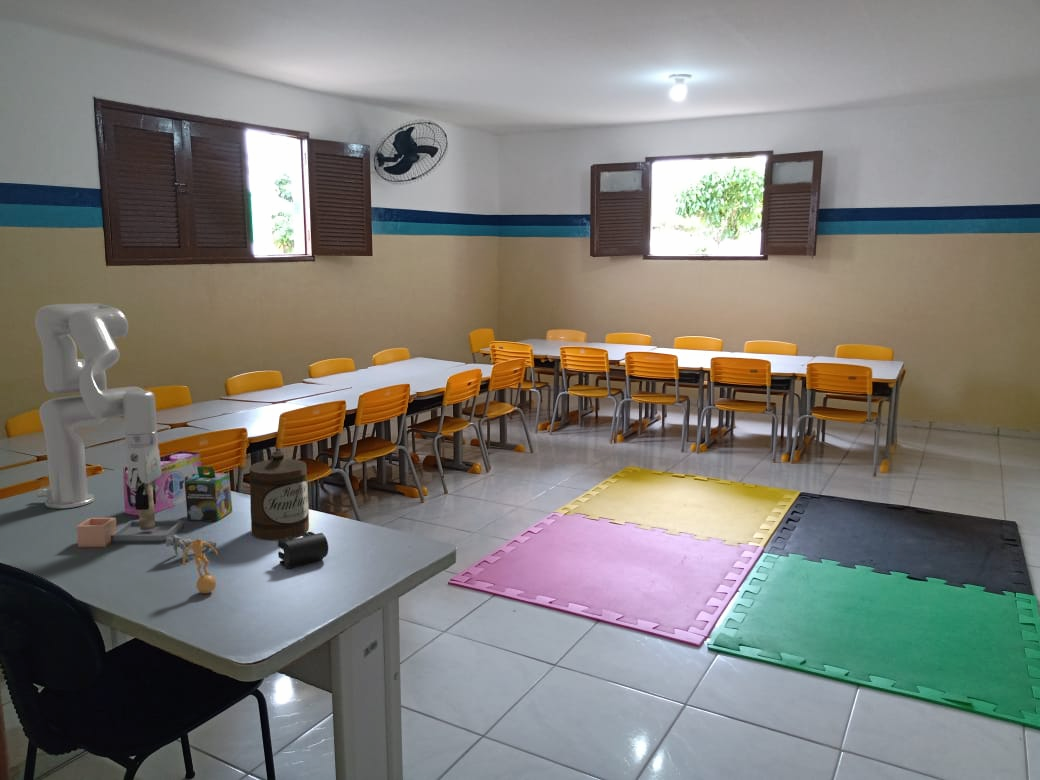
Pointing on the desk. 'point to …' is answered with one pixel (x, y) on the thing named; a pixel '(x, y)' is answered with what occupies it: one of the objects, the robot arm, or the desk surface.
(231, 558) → the desk surface
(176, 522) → the tray
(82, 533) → the pink open box
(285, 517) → the wooden container
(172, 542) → the soldier figurine
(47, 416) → the robot arm
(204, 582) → the figurine
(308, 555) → the end cap
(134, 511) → the gum box
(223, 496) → the chalk box
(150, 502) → the dowel
